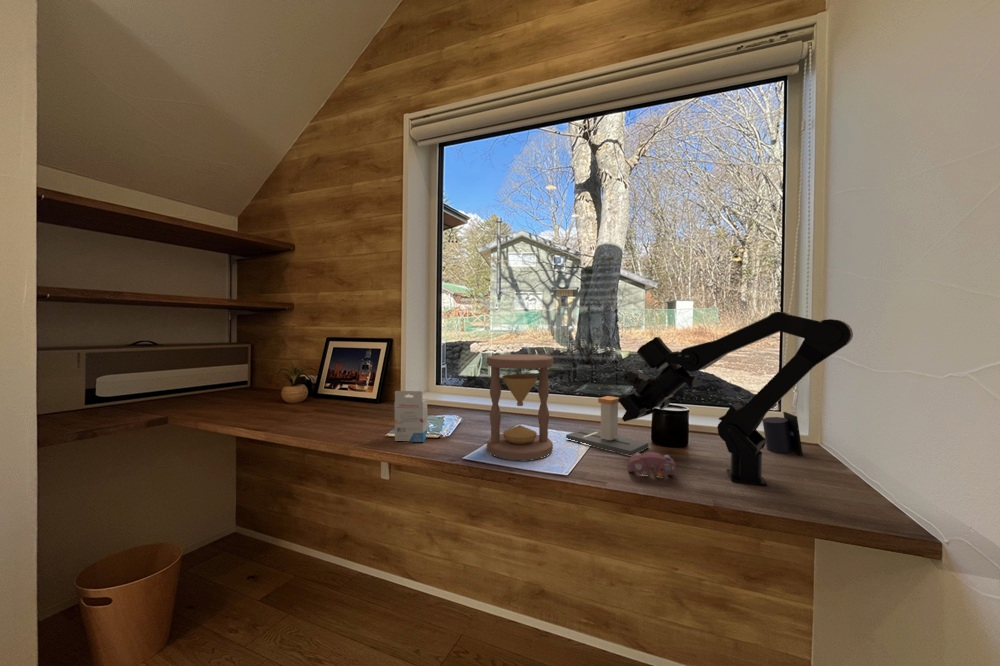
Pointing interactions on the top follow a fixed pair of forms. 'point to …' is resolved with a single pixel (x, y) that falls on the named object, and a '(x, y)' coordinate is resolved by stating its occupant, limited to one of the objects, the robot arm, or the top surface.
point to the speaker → (782, 434)
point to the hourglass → (519, 439)
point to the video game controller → (652, 464)
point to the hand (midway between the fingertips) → (623, 419)
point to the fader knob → (609, 417)
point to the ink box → (410, 416)
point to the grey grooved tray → (608, 441)
